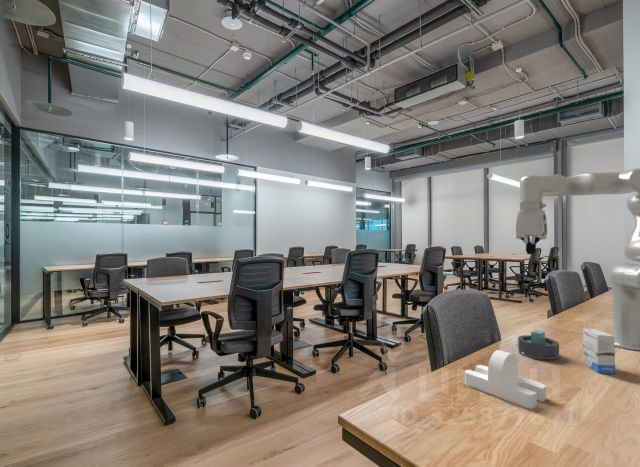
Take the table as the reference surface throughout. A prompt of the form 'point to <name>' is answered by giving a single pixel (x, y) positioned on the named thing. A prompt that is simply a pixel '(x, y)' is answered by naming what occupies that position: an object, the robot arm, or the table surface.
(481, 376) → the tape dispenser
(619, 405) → the table surface
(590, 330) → the ink box
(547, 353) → the grey round hollow piece
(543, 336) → the cap
